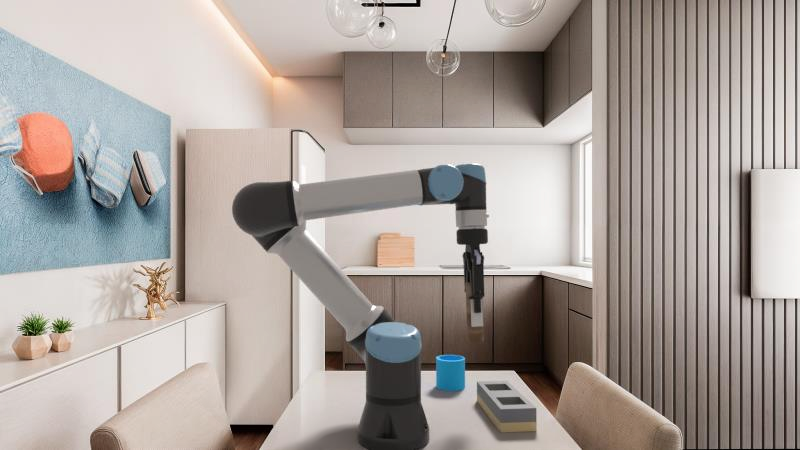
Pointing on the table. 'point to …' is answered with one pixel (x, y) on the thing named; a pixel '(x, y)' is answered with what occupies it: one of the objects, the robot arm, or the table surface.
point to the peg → (472, 332)
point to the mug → (450, 372)
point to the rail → (506, 406)
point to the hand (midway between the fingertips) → (475, 324)
